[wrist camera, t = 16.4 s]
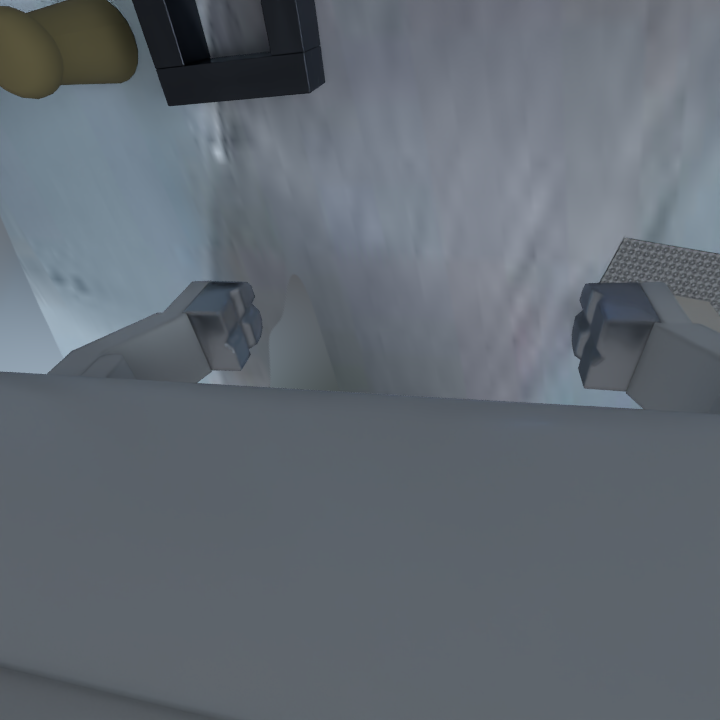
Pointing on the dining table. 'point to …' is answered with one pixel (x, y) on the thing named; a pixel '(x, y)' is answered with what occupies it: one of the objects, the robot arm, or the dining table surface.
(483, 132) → the dining table surface
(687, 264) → the architectural model
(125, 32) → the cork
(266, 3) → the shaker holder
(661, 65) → the dining table surface
